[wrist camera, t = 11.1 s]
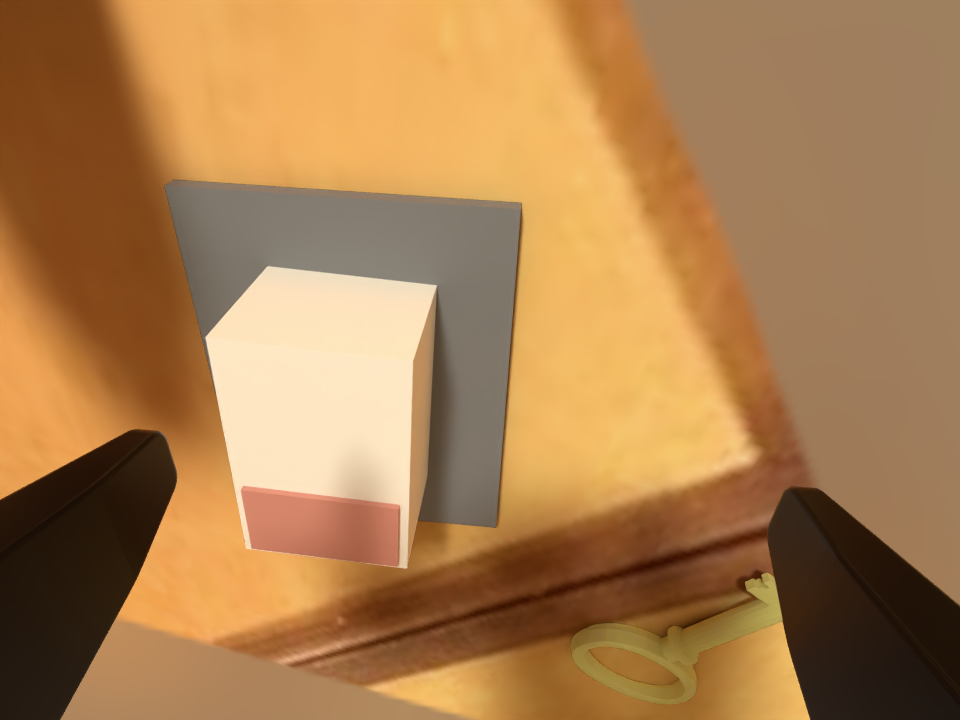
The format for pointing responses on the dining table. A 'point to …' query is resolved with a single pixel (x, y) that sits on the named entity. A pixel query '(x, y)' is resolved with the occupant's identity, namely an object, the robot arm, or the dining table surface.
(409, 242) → the mat
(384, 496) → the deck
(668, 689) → the key
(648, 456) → the dining table surface
